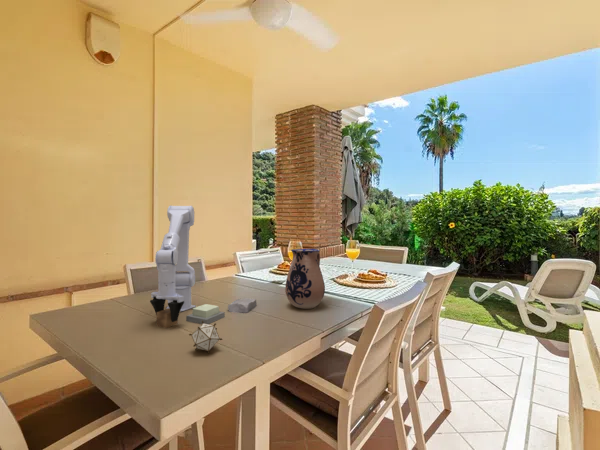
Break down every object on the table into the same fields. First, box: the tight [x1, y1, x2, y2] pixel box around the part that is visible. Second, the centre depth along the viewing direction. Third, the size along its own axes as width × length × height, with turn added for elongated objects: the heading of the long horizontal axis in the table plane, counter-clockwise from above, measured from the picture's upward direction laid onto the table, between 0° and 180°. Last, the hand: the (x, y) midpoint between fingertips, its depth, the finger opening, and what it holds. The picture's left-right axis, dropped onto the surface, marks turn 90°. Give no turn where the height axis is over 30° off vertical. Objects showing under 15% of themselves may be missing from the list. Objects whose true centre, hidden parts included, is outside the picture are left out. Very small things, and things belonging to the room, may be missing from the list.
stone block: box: [227, 297, 258, 314], centre depth 129 cm, size 12×5×10 cm
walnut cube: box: [156, 308, 179, 329], centre depth 109 cm, size 5×5×5 cm
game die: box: [188, 321, 223, 355], centre depth 88 cm, size 9×8×10 cm
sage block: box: [191, 303, 220, 318], centre depth 116 cm, size 7×7×2 cm
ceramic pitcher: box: [284, 248, 326, 310], centre depth 134 cm, size 18×21×25 cm
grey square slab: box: [185, 310, 226, 325], centre depth 116 cm, size 10×10×2 cm
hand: (167, 319), depth 109 cm, fingers open, 7 cm apart
